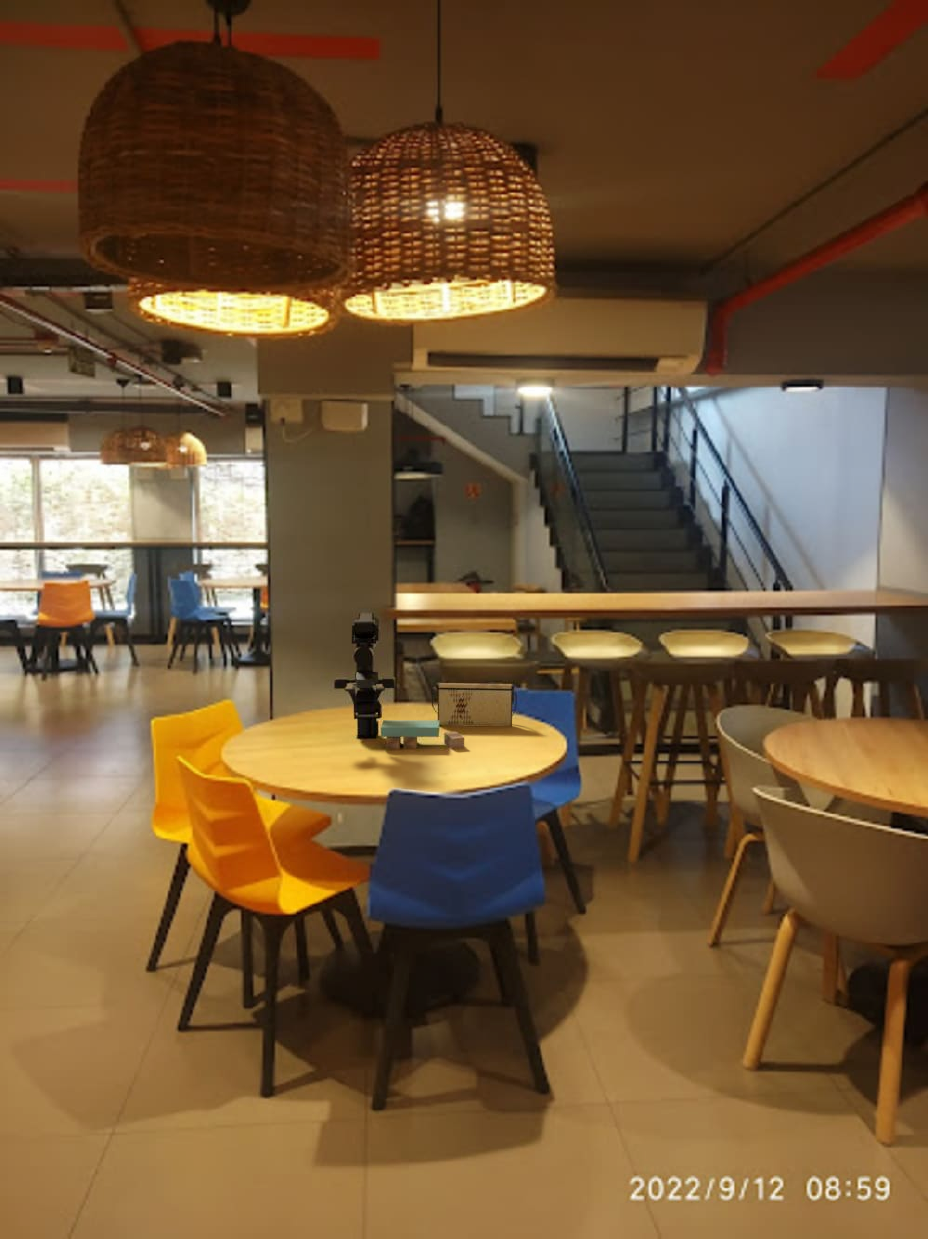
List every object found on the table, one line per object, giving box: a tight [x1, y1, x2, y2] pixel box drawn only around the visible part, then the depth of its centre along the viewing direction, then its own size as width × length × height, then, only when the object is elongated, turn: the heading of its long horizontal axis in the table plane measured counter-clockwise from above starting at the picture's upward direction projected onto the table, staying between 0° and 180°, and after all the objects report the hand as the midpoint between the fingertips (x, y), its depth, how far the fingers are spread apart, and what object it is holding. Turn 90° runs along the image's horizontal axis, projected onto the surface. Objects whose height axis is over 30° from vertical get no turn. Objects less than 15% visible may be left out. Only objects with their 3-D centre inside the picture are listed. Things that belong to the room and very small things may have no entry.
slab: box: [380, 719, 440, 738], centre depth 282 cm, size 18×9×3 cm, turn 90°
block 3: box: [443, 731, 465, 750], centre depth 282 cm, size 8×4×4 cm, turn 19°
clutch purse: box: [431, 682, 518, 727], centre depth 309 cm, size 30×7×15 cm, turn 87°
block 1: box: [385, 737, 402, 751], centre depth 281 cm, size 4×8×4 cm, turn 1°
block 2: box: [402, 737, 418, 750], centre depth 282 cm, size 4×8×4 cm, turn 1°
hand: (365, 709), depth 279 cm, fingers open, 5 cm apart
